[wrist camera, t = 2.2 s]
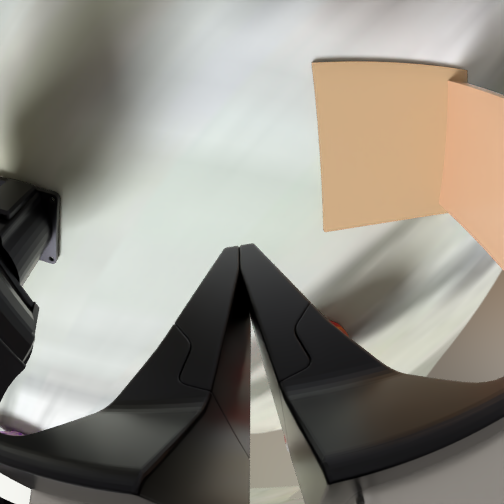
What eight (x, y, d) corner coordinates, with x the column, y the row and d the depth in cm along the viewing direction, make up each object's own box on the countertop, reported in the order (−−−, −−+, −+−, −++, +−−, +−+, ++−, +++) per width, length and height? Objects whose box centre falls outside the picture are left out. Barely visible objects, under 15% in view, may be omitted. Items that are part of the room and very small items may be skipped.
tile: (438, 203, 22) (514, 283, 14) (447, 80, 16) (557, 121, 8) (456, 201, 22) (531, 276, 14) (467, 82, 16) (573, 125, 8)
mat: (323, 229, 23) (324, 232, 23) (311, 62, 16) (313, 62, 16) (452, 209, 23) (454, 211, 23) (464, 69, 16) (467, 70, 16)
